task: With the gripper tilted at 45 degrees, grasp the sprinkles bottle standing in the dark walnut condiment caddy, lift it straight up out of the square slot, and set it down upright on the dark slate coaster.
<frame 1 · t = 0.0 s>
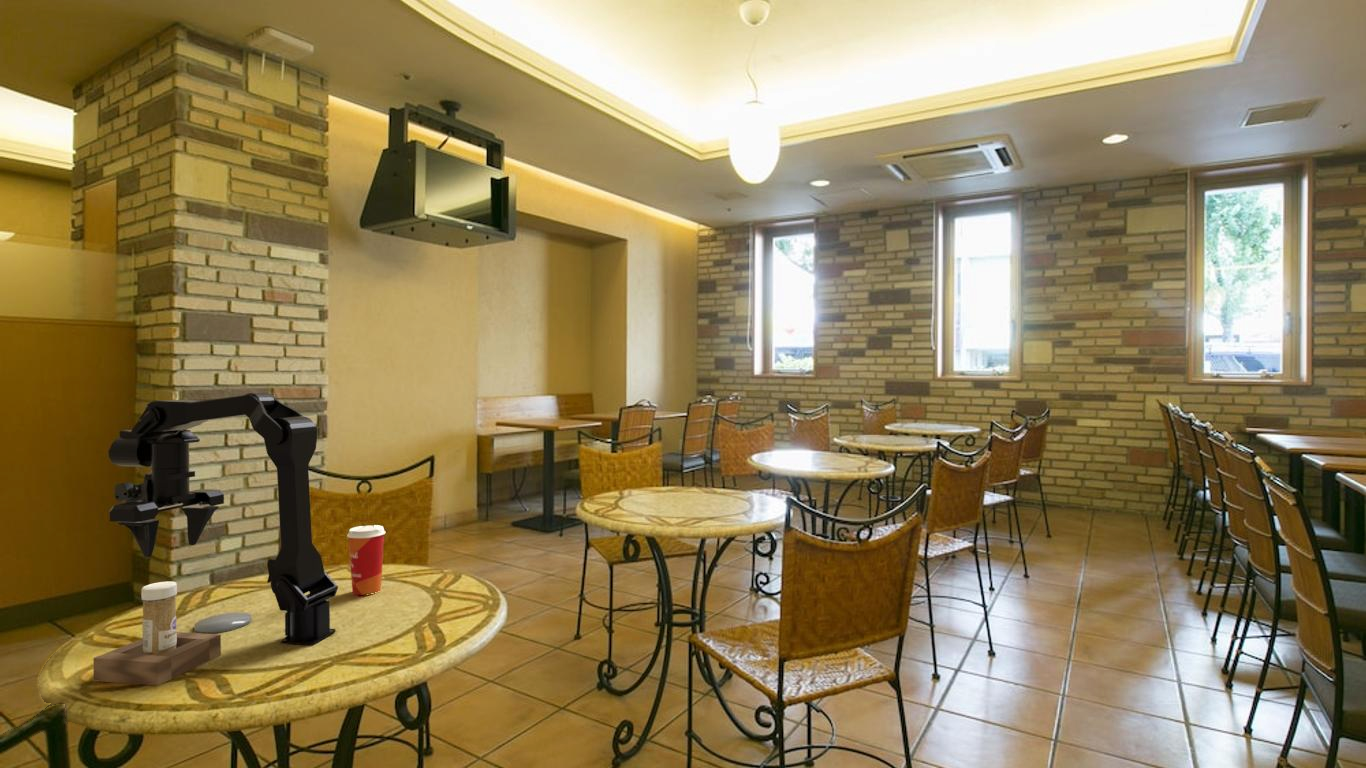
hand: (170, 550, 126), 15 cm above the table, tool pointing down, fingers open, 9 cm apart
slate coaster: (223, 624, 129), on the table
sprinkles bottle: (160, 668, 110), resting in walnut caddy
walnut caddy: (159, 667, 110), on the table
paper cup: (366, 592, 149), on the table
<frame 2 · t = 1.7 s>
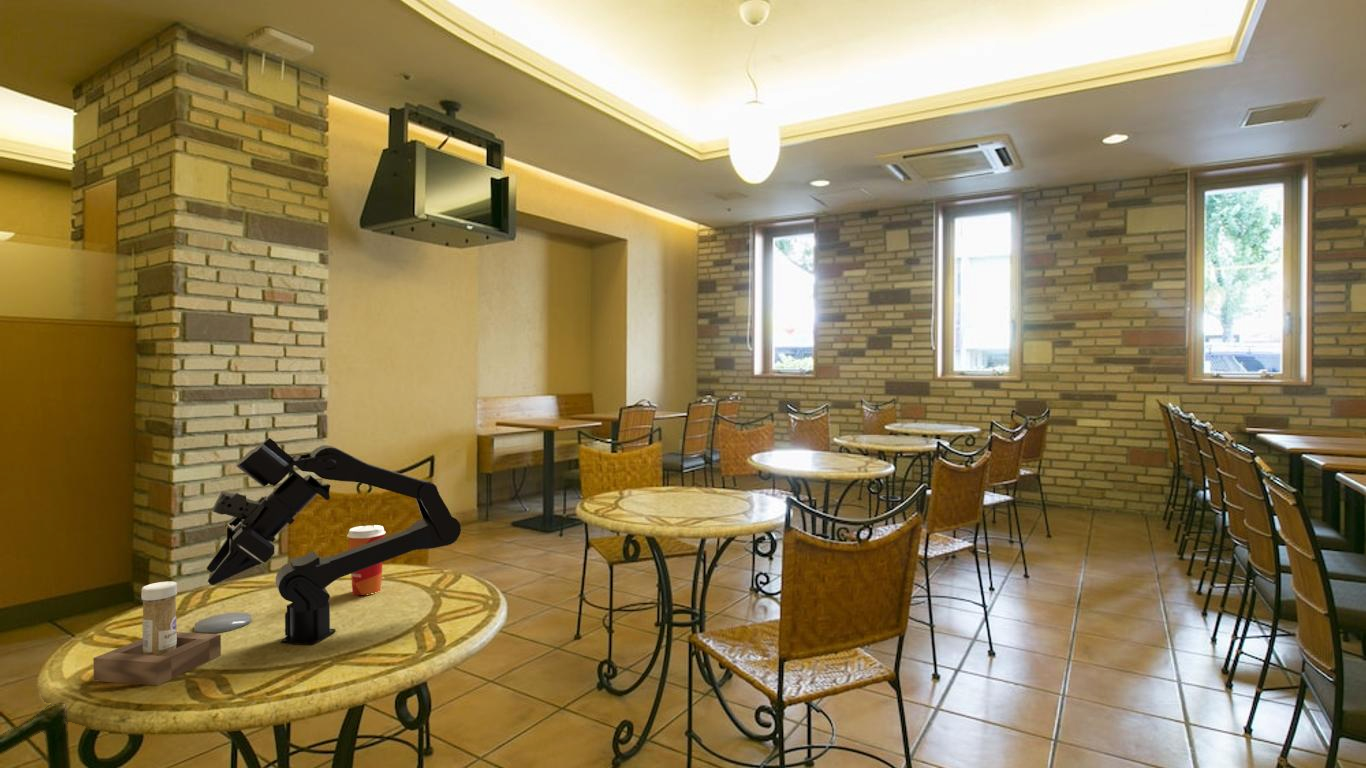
hand: (209, 576, 114), 14 cm above the table, tool tilted 45°, fingers open, 9 cm apart
nothing on the table moved.
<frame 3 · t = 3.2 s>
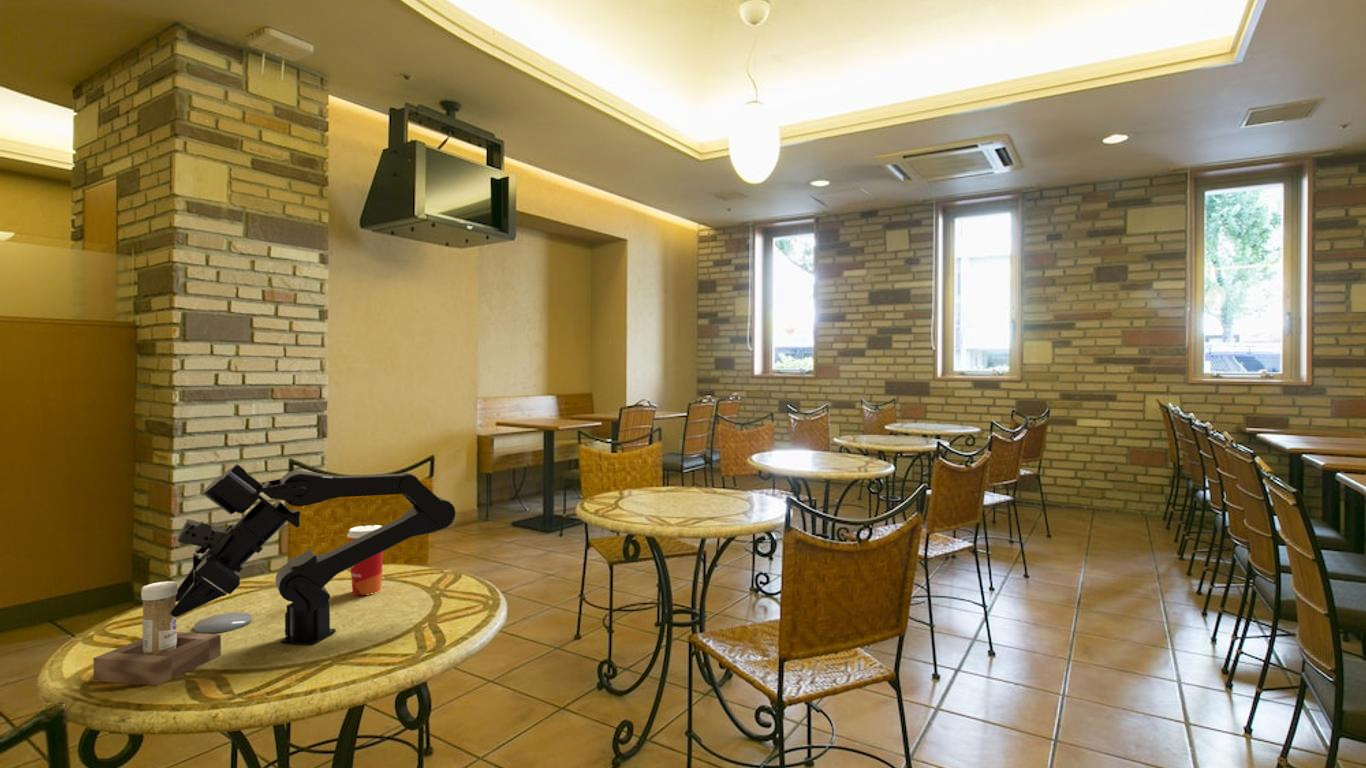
hand: (173, 607, 111), 9 cm above the table, tool tilted 45°, fingers open, 9 cm apart
nothing on the table moved.
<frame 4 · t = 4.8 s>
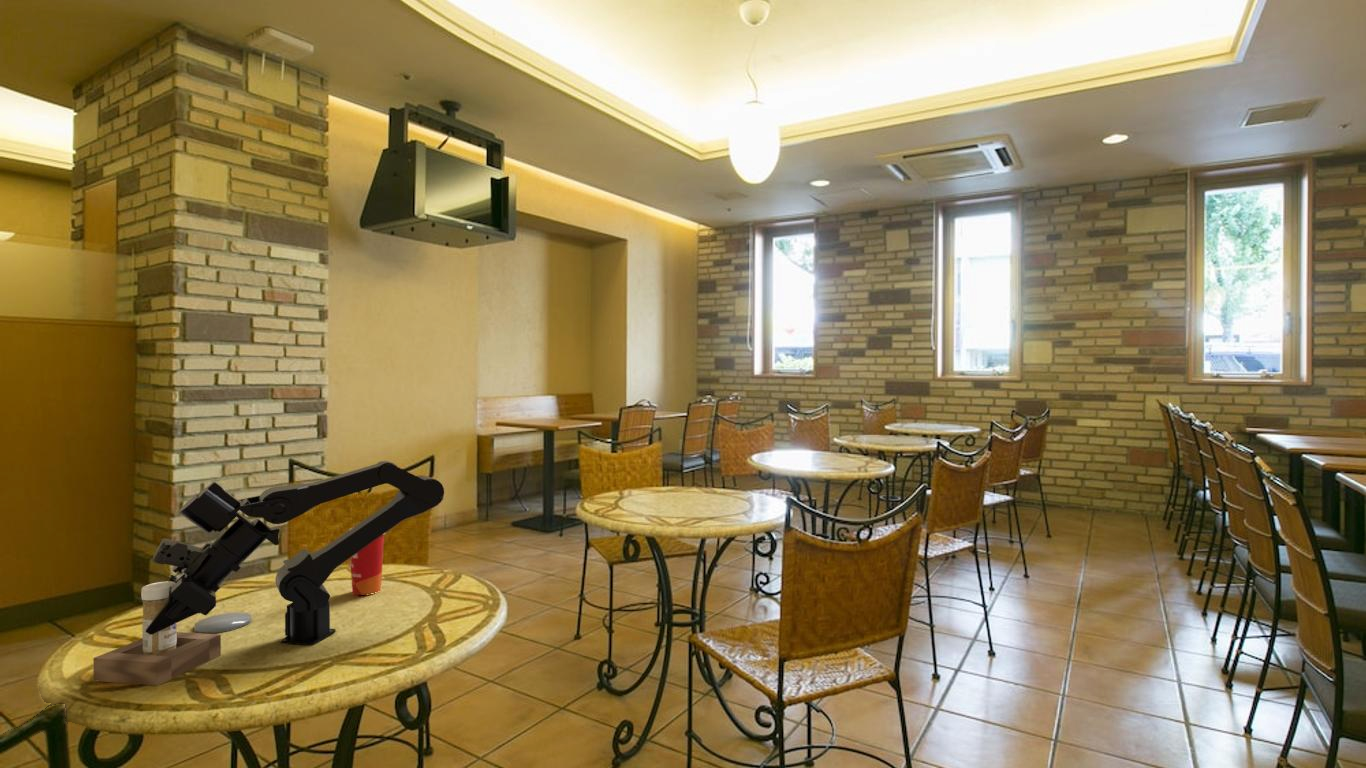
hand: (148, 628, 109), 7 cm above the table, tool tilted 45°, fingers closed on sprinkles bottle, 4 cm apart
sprinkles bottle: (159, 668, 110), resting in walnut caddy, touching gripper
everything else where it was.
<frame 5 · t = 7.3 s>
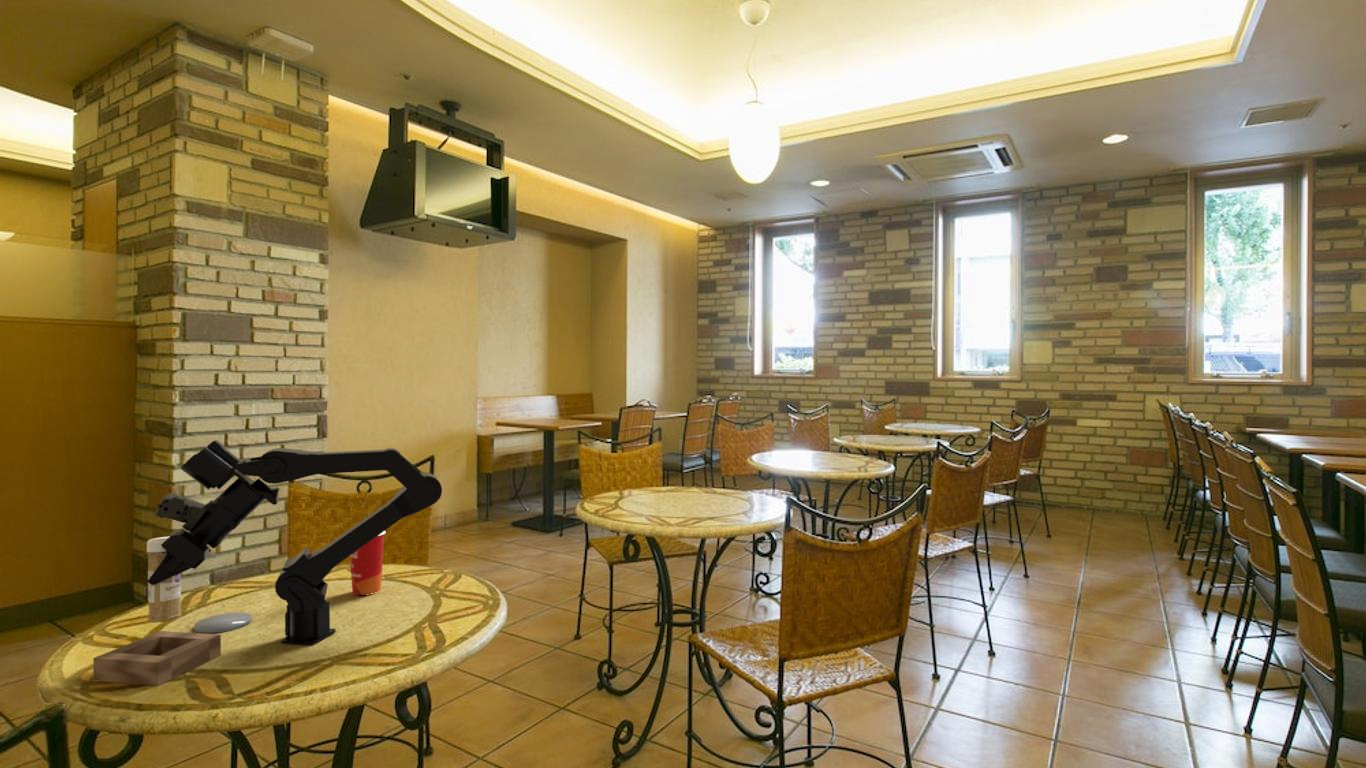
hand: (154, 579, 113), 13 cm above the table, tool tilted 45°, fingers closed on sprinkles bottle, 4 cm apart
sprinkles bottle: (164, 620, 113), point 6 cm above the table, touching gripper
everything else where it was.
when the fingers open (9 cm above the table, at t = 9.8 s): sprinkles bottle drops 1 cm, resting on slate coaster.
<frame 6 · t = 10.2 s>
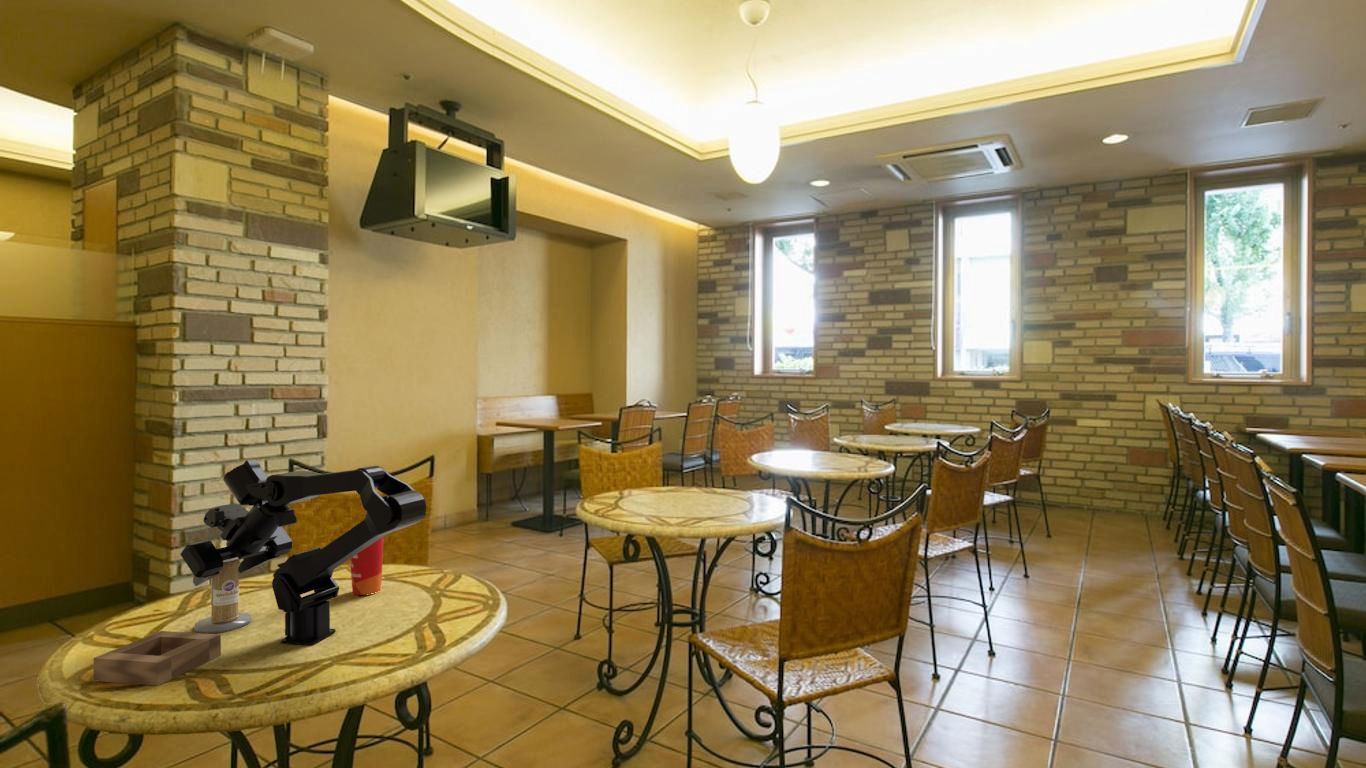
hand: (217, 577, 129), 9 cm above the table, tool tilted 45°, fingers open, 8 cm apart
sprinkles bottle: (225, 621, 129), point 1 cm above the table, touching slate coaster
everything else where it was.
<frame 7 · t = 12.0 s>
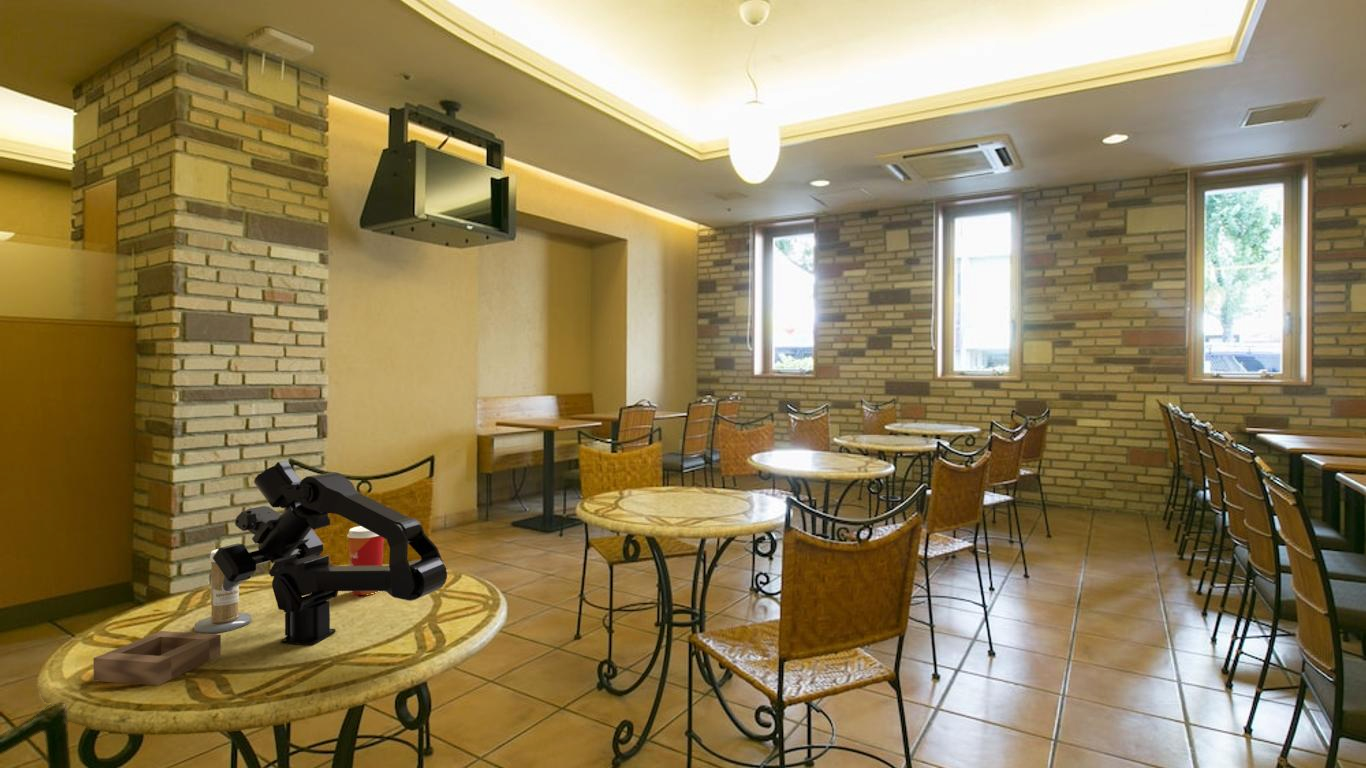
hand: (248, 581, 127), 9 cm above the table, tool tilted 45°, fingers open, 9 cm apart
nothing on the table moved.
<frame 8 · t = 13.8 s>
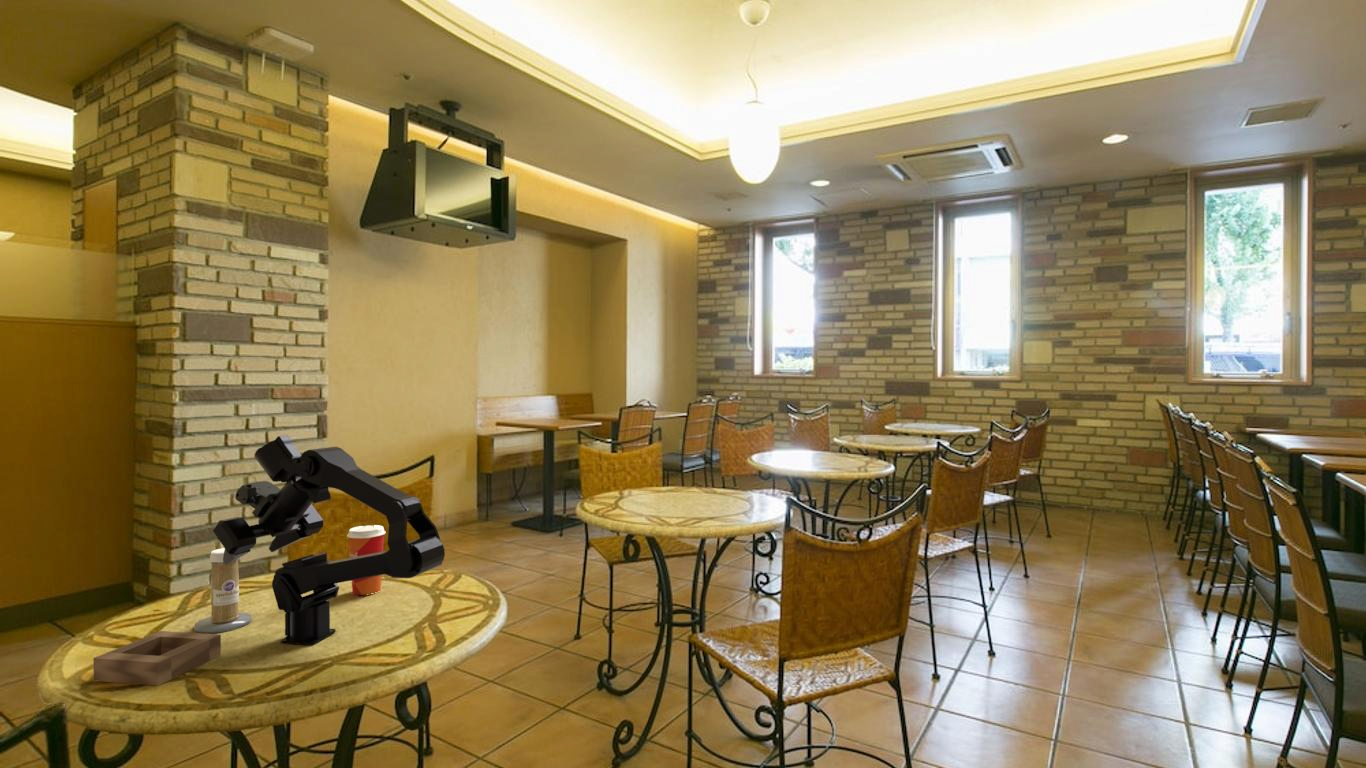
hand: (248, 556, 127), 14 cm above the table, tool tilted 45°, fingers open, 9 cm apart
nothing on the table moved.
at the end: sprinkles bottle 0.3 cm off-centre on the slate coaster, point 0.6 cm above the slate coaster's base; sprinkles bottle tilted 0°; sprinkles bottle touching slate coaster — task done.
